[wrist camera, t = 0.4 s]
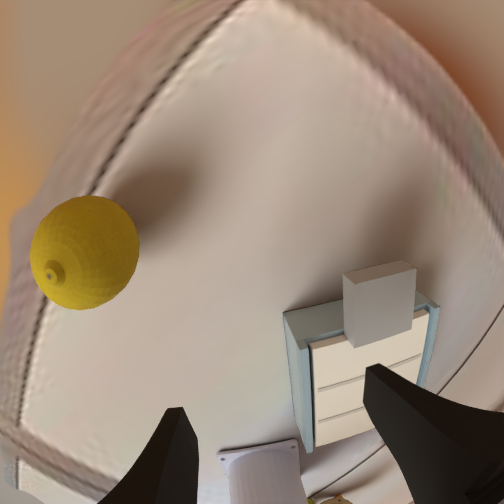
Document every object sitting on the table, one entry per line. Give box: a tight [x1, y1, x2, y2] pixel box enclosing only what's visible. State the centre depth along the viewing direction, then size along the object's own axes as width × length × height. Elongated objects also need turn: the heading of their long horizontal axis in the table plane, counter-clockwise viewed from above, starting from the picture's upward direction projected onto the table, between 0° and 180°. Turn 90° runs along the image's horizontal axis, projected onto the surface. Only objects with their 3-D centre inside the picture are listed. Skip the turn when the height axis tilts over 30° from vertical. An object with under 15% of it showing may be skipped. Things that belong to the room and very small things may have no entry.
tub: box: [283, 290, 440, 453], centre depth 19 cm, size 11×10×5 cm
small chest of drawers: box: [309, 260, 429, 447], centre depth 17 cm, size 14×8×2 cm, turn 9°
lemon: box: [30, 195, 139, 310], centre depth 13 cm, size 6×6×8 cm
